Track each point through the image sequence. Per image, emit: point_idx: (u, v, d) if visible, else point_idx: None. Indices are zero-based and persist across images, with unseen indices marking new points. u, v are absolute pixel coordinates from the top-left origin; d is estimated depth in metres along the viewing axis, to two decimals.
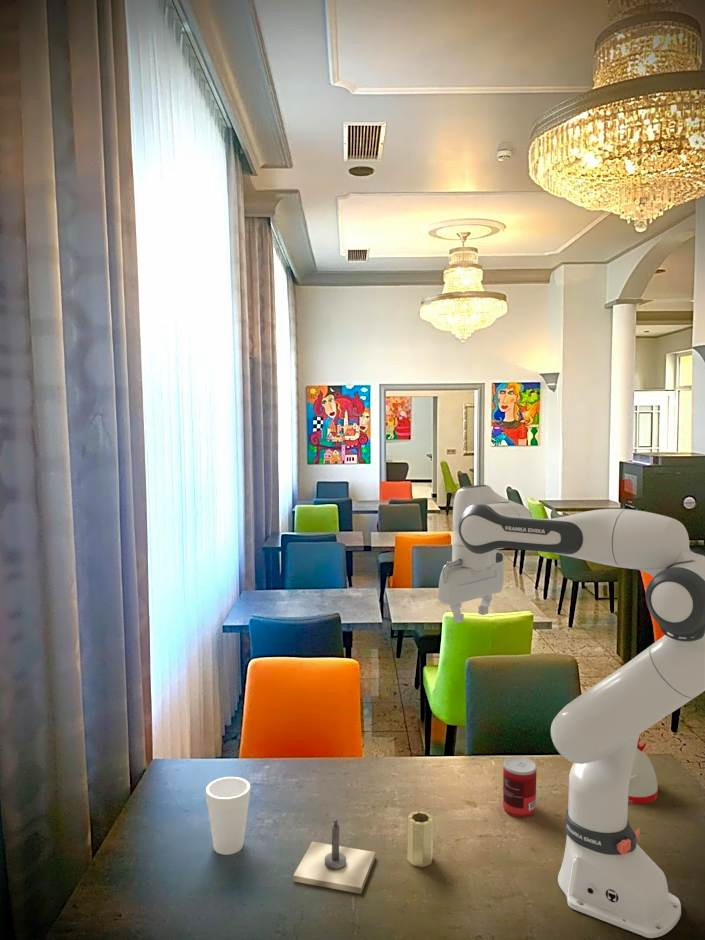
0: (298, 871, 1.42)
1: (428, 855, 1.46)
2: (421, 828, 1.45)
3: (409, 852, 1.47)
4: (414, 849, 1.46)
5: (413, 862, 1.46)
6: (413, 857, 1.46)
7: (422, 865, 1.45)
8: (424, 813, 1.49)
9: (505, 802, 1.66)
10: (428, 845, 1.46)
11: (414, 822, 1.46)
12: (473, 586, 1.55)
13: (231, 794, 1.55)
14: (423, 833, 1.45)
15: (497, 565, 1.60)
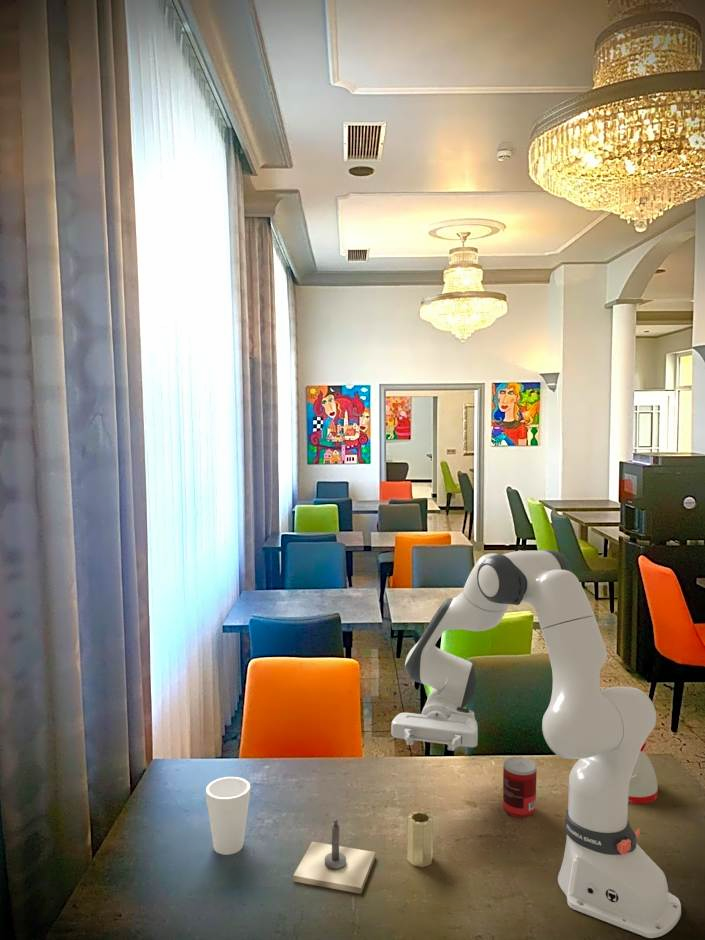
0: (298, 871, 1.42)
1: (428, 855, 1.46)
2: (421, 828, 1.45)
3: (409, 852, 1.47)
4: (414, 849, 1.46)
5: (413, 862, 1.46)
6: (413, 857, 1.46)
7: (422, 865, 1.45)
8: (424, 813, 1.49)
9: (505, 802, 1.66)
10: (428, 845, 1.46)
11: (414, 822, 1.46)
12: (426, 721, 1.67)
13: (231, 794, 1.55)
14: (423, 833, 1.45)
15: (462, 715, 1.68)
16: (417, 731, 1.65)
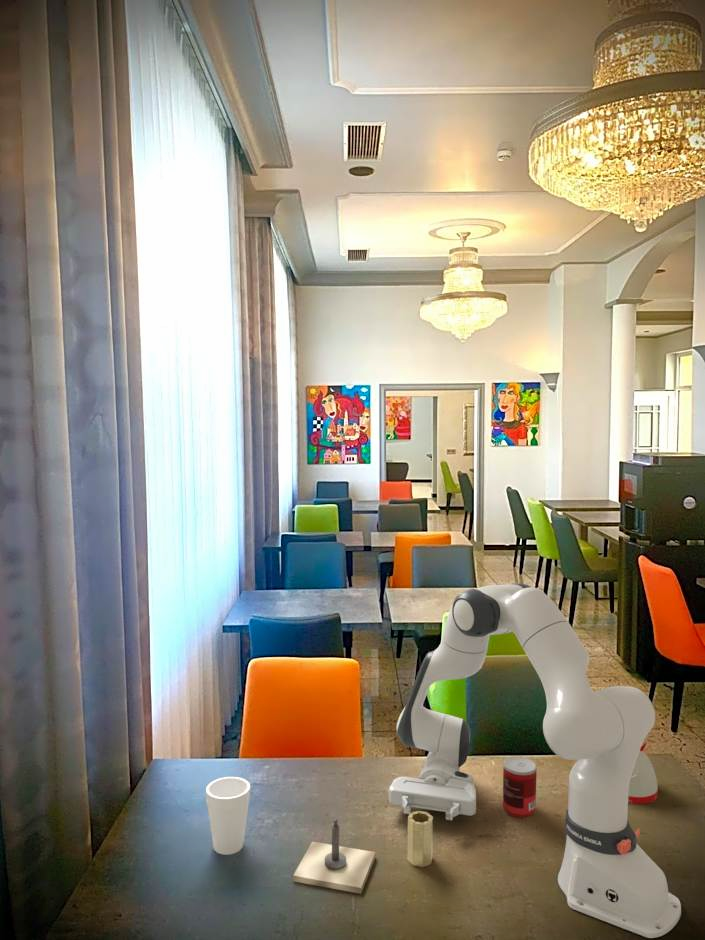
0: (298, 871, 1.42)
1: (428, 855, 1.46)
2: (421, 828, 1.45)
3: (409, 852, 1.47)
4: (414, 849, 1.46)
5: (413, 862, 1.46)
6: (413, 857, 1.46)
7: (422, 865, 1.45)
8: (424, 813, 1.49)
9: (505, 802, 1.66)
10: (428, 845, 1.46)
11: (414, 822, 1.46)
12: (424, 787, 1.64)
13: (231, 794, 1.55)
14: (423, 833, 1.45)
15: (461, 780, 1.66)
16: (415, 798, 1.63)
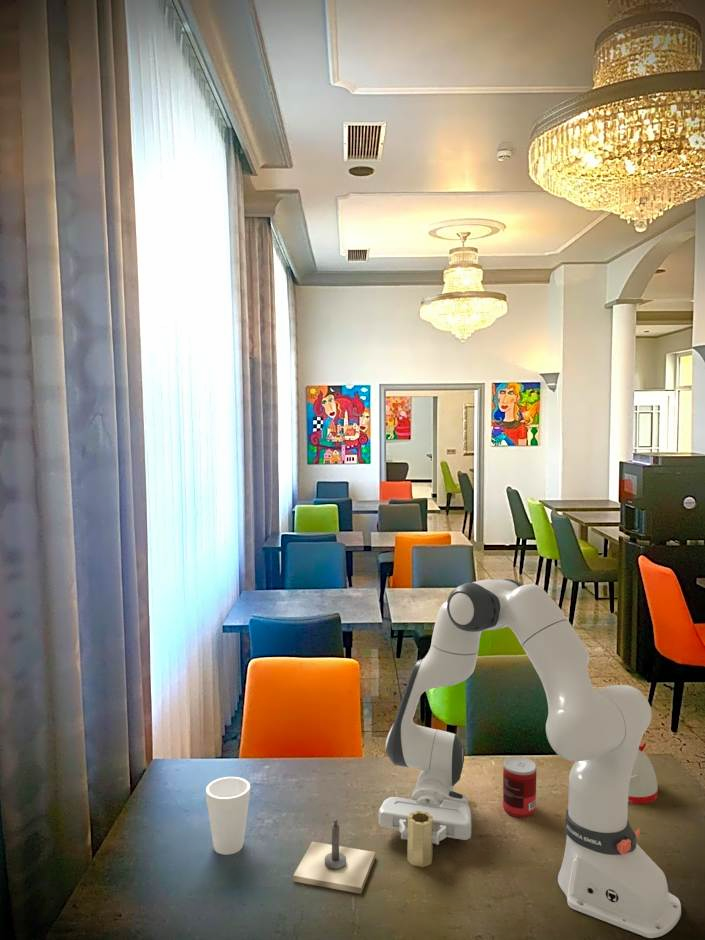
0: (298, 871, 1.42)
1: (428, 855, 1.46)
2: (421, 828, 1.45)
3: (409, 852, 1.47)
4: (414, 849, 1.46)
5: (413, 862, 1.46)
6: (413, 857, 1.46)
7: (422, 865, 1.45)
8: (424, 813, 1.49)
9: (505, 802, 1.66)
10: (428, 845, 1.46)
11: (414, 822, 1.46)
12: (416, 809, 1.55)
13: (231, 794, 1.55)
14: (423, 833, 1.45)
15: (455, 801, 1.56)
16: None
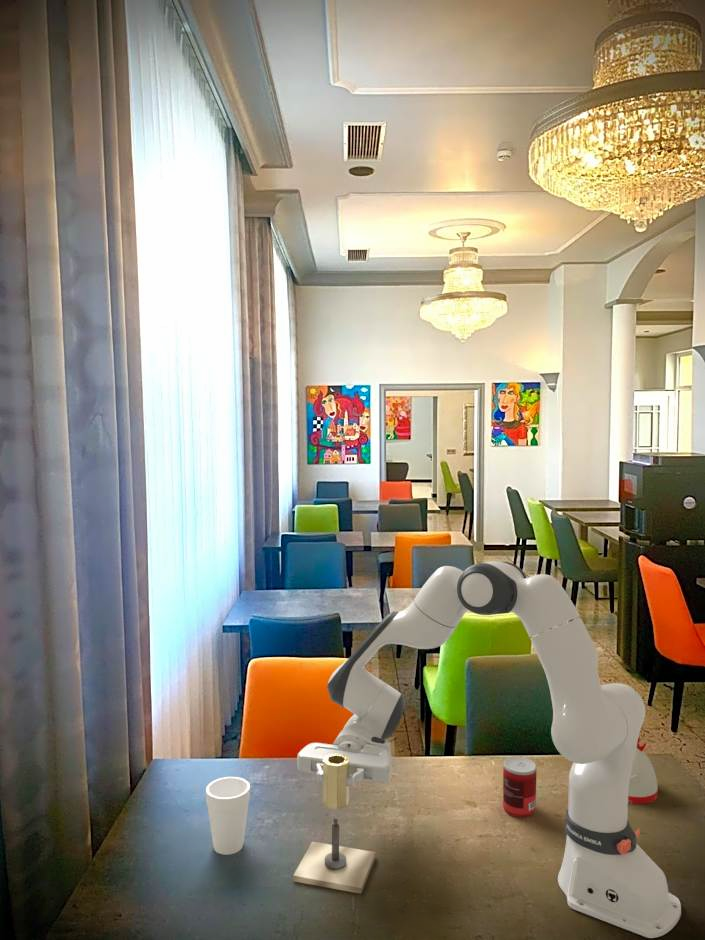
0: (298, 871, 1.42)
1: (343, 797, 1.42)
2: (336, 769, 1.41)
3: (324, 794, 1.43)
4: (328, 791, 1.41)
5: (327, 804, 1.42)
6: (328, 799, 1.41)
7: (336, 807, 1.41)
8: (341, 755, 1.45)
9: (505, 802, 1.66)
10: (343, 787, 1.41)
11: (329, 763, 1.41)
12: (336, 753, 1.50)
13: (231, 794, 1.55)
14: (337, 774, 1.41)
15: (377, 746, 1.52)
16: None
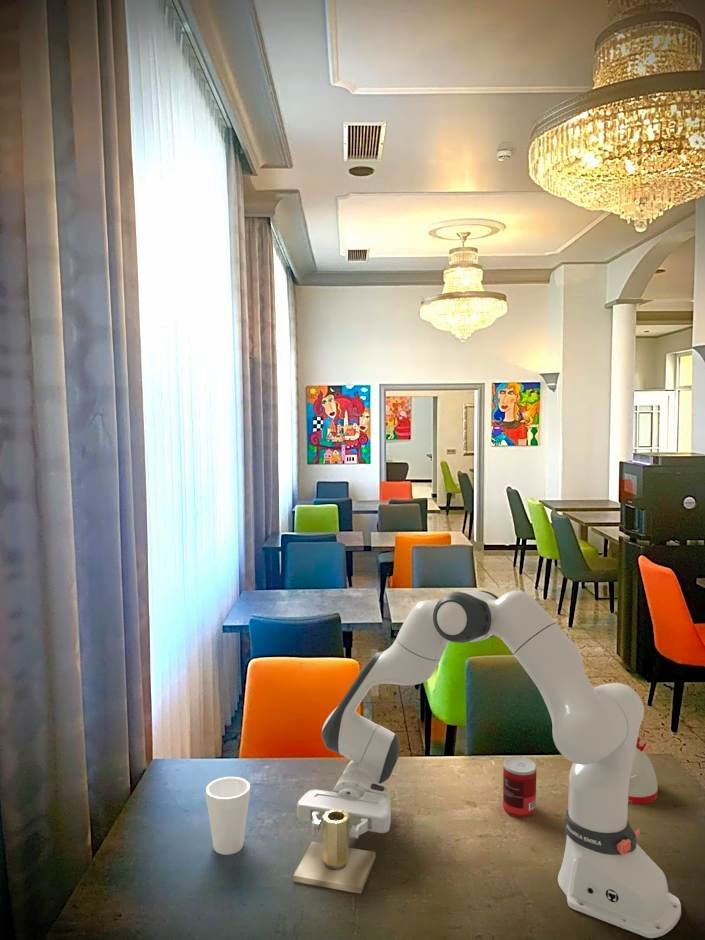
0: (298, 871, 1.42)
1: (343, 854, 1.42)
2: (336, 827, 1.41)
3: (324, 851, 1.43)
4: (328, 848, 1.42)
5: (327, 862, 1.42)
6: (328, 856, 1.42)
7: (336, 865, 1.42)
8: (341, 811, 1.45)
9: (505, 802, 1.66)
10: (343, 844, 1.42)
11: (328, 821, 1.42)
12: (335, 801, 1.51)
13: (231, 794, 1.55)
14: (337, 832, 1.41)
15: (376, 794, 1.52)
16: None
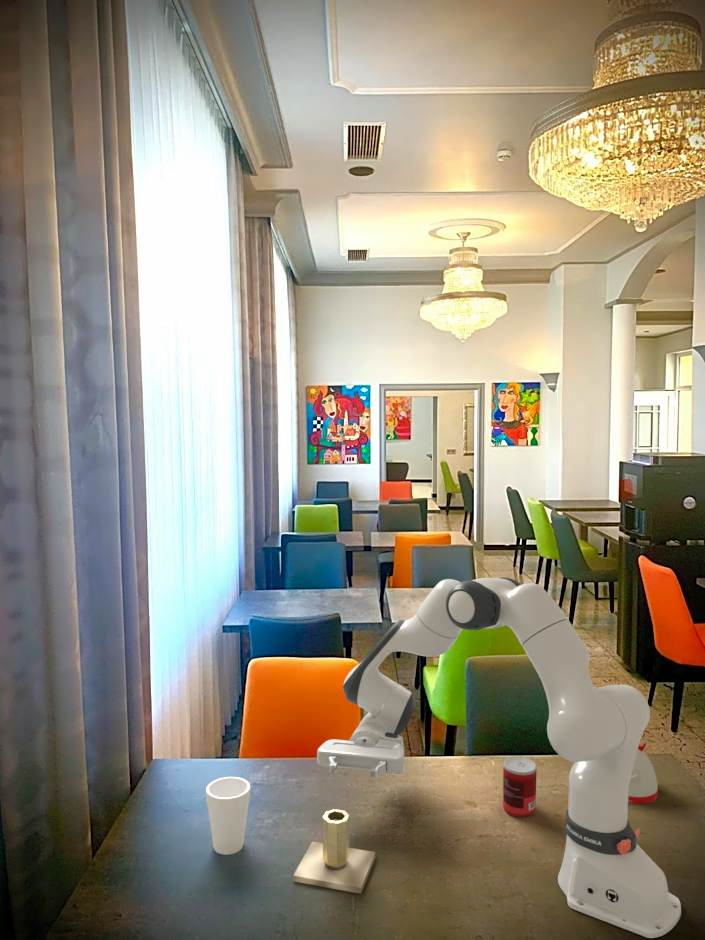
0: (298, 871, 1.42)
1: (343, 854, 1.42)
2: (336, 827, 1.41)
3: (324, 851, 1.43)
4: (328, 848, 1.42)
5: (327, 862, 1.42)
6: (328, 856, 1.42)
7: (336, 865, 1.42)
8: (341, 811, 1.45)
9: (505, 802, 1.66)
10: (343, 844, 1.42)
11: (328, 821, 1.42)
12: (353, 748, 1.63)
13: (231, 794, 1.55)
14: (337, 832, 1.41)
15: (390, 741, 1.64)
16: (343, 759, 1.61)
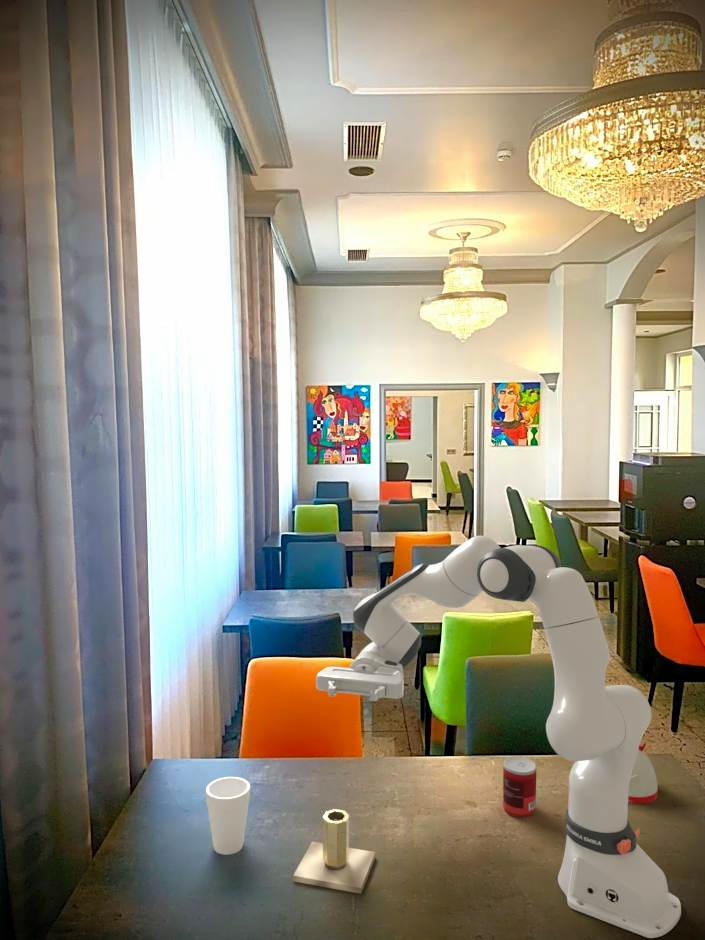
0: (298, 871, 1.42)
1: (343, 854, 1.42)
2: (336, 827, 1.41)
3: (324, 851, 1.43)
4: (328, 848, 1.42)
5: (327, 862, 1.42)
6: (328, 856, 1.42)
7: (336, 865, 1.42)
8: (341, 811, 1.45)
9: (505, 802, 1.66)
10: (343, 844, 1.42)
11: (328, 821, 1.42)
12: (352, 674, 1.62)
13: (231, 794, 1.55)
14: (337, 832, 1.41)
15: (390, 668, 1.64)
16: (342, 684, 1.60)
